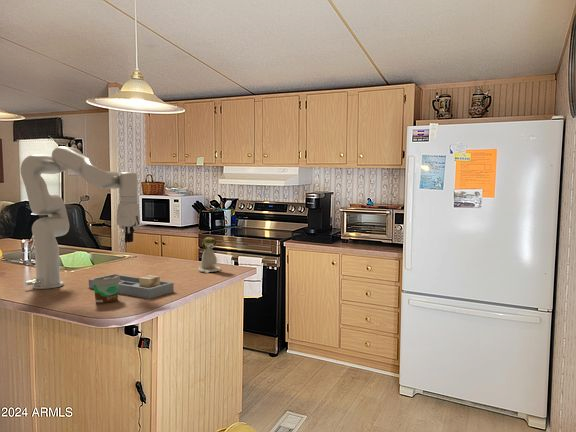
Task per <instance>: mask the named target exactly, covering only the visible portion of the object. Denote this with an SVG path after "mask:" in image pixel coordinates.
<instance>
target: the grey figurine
mask: <svg viewBox="0 0 576 432" xmlns="http://www.w3.org/2000/svg"><path fill="white" fill-rule="evenodd" d="M201 244H202V248H203V249H204V251H203V252H202V255H201V266H199V267H198V270H199V272H201V273H206V274H208V273H210V272H211V273H213V272H220V271H222V267H220V265H218V266H216V265H217V263H218V258H217V256H216V254H215V251H214V250H213V248H216V246H217V245H218V244H219V243H218V241H217V240H216V238H214V237H212V236H211V237H210V236H208V237H205V238H204V239H203V240H202V242H201Z"/></svg>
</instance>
